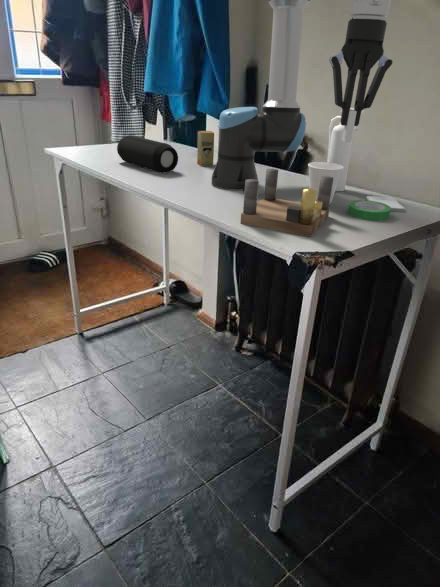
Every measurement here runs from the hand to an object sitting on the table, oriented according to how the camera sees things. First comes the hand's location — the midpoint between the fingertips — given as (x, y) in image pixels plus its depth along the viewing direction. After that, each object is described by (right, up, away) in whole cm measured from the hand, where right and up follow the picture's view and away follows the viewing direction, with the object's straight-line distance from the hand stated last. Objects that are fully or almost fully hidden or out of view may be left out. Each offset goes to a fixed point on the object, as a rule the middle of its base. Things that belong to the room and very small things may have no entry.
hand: (346, 140), depth 101 cm
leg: (-6, -16, +8) cm, 19 cm away
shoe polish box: (-34, +15, +71) cm, 80 cm away
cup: (+1, -8, +30) cm, 31 cm away
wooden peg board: (-11, -15, +15) cm, 24 cm away
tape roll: (+12, -13, +23) cm, 29 cm away
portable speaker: (-55, +11, +63) cm, 85 cm away
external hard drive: (+20, -9, +32) cm, 39 cm away
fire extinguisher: (+8, 0, +46) cm, 47 cm away
